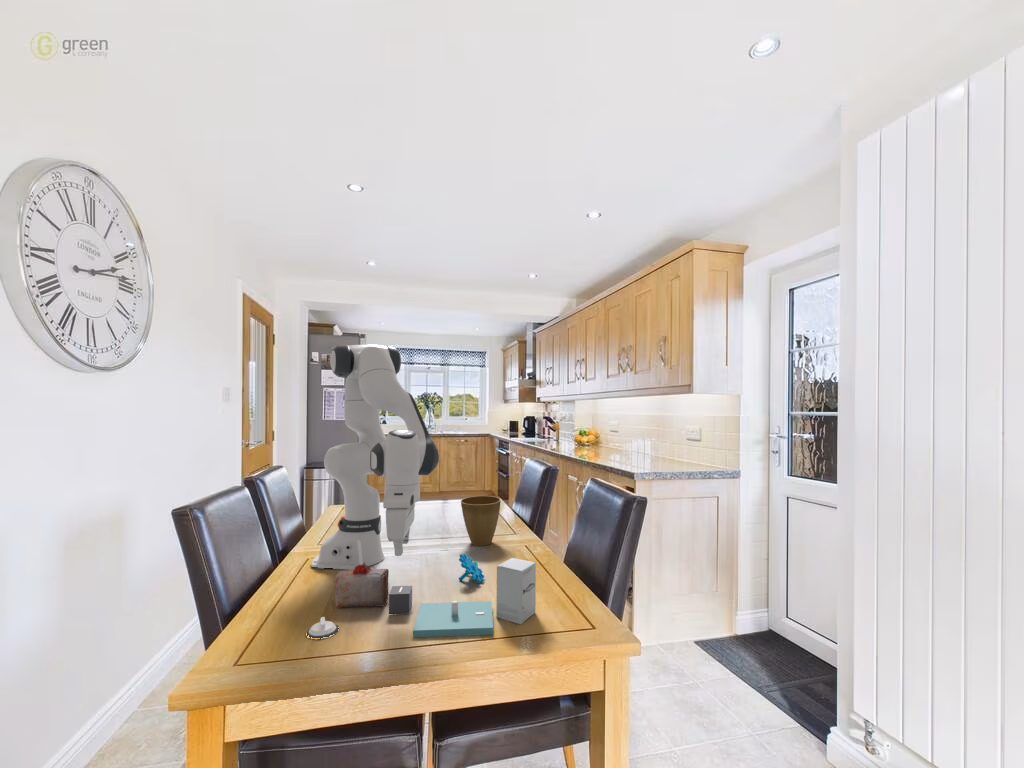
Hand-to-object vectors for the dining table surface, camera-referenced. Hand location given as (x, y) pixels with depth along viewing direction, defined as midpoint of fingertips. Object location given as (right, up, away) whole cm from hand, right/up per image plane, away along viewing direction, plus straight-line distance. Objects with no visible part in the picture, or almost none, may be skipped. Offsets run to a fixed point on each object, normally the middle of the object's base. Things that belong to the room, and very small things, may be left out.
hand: (402, 548), depth 118 cm
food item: (-12, -16, +4) cm, 20 cm away
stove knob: (-16, -16, -12) cm, 25 cm away
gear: (+16, -16, +19) cm, 30 cm away
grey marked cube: (0, -15, -1) cm, 15 cm away
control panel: (+14, -15, -7) cm, 22 cm away
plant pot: (+16, -17, +54) cm, 59 cm away
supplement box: (+29, -15, -3) cm, 33 cm away
